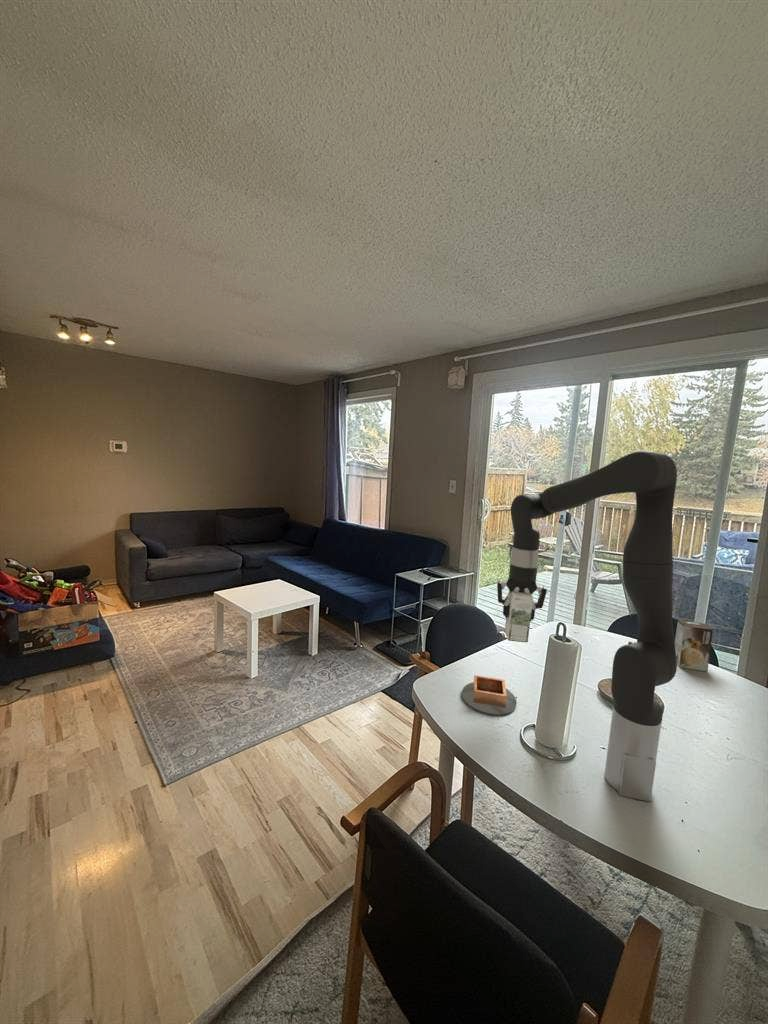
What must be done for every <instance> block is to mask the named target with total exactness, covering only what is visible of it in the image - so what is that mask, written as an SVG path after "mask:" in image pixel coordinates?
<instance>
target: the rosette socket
mask: <svg viewBox="0 0 768 1024" xmlns="http://www.w3.org/2000/svg"><path fill="white" fill-rule="evenodd" d="M505 682H506V681H505V679H501V678H494V677H489V676H481V675H477V674H476V675H473V682H470V683H468V684H465V685H464V687H463V688H462V691H461V698H462V700H463V701H464V703H465V704H466V705H467V706H468V707H469V708H471V709H473V710H474V711H476V712H478V713H480V714H484V715H488V716H497V717H499V716H506V715H507V716H508V715H509V714H511V713H513V712H514V711H515V710H516V708H517V698H516V697H515V695H514V694H513V693H512V692H511V691H510V690H509V689H507V688H506V683H505Z"/></svg>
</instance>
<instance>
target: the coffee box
mask: <svg viewBox="0 0 768 1024" xmlns="http://www.w3.org/2000/svg"><path fill="white" fill-rule="evenodd" d="M713 632H714V629H713V628H711V627H710V626H709V625H707V624H706V623H703V622H702V623H701V622H694V621H688V620H681V619H678V620H677V624H676V631H675V637H674V642H675V650H676V659H677V668H682V669H689V670H695V671H696V670H697V671H702V672H708V669H709V663H710V654H711V647H712V641H713V640H712V639H713Z"/></svg>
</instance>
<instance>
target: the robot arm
mask: <svg viewBox="0 0 768 1024" xmlns="http://www.w3.org/2000/svg"><path fill="white" fill-rule="evenodd" d="M677 469H678V468H677V465H676V463H675V461H674V460H673V459H672V458H671V457H670V455H667V454H665V453H663V452H657V451H652V450H651V451H650V450H635V451H632V452H630V453H628V454H626V455H623V456H621V457H620V458H618V459H615V460H613V461H612V462H610V463H608V464H606V465H604V466H603V467H601V468H599V469H596V470H594V471H592V472H589V473H587V474H584V475H582V476H579V477H575V478H573V479H570V480H567V481H565V482H562V483H558V484H555V485H552V486H550V487H547V488H546V489H544V490H543V492H540V493H536V494H519V495H516V496H515V497H514V499H513V500H512V503H511V504H510V516H511V523H512V530H513V540H512V549H511V554H510V558H509V562H510V563H509V570H508V571H509V572H508V579H507V580H506V581H500V580H498V581H497V582H496V585H497V587H496V589H497V590H496V592H497V602H498V603H499V604H502V605H503V606H502V614H503V615H502V616H504V618H505V619H506V618H508V610H509V603H510V602H511V597H512V593H511V594H510V592H514V593H517V592H521V593H526V594H529V595H531V594H532V595H533V594H534V593H535V592H536V591H537V594H538V598H537V602H534V600H533V602H532V611H531V619H530V622H532V621H533V620H534V619H535V614H536V609H542V608H543V607H544V603H545V600H546V595H547V592H548V590H547V587H545V585H544V586H540V585H538V584H537V583H536V582H537V576H538V575H537V573H538V567H539V549H540V548H539V546H540V538H541V537H540V531H539V529H537V528H535V527H533V524H532V522H533V521H532V520H537V519H538V520H539V519H543V518H547V517H549V516H551V515H553V514H554V515H555V513H561V512H564V511H568V510H572V509H575V508H578V507H581V506H584V505H585V504H587V503H590V502H592V501H593V500H595V499H598V498H602V497H605V496H609V495H615V494H616V495H618V494H626V493H634V494H635V501H636V503H635V505H636V506H635V507H636V508H635V510H636V511H635V517H634V522H633V525H632V527H631V529H630V532H629V534H628V537H627V539H626V542H625V545H624V548H623V554H622V581H623V585H624V588H625V591H626V593H627V595H628V597H629V600H630V601H631V603H632V606H633V607H634V610H635V612H636V617H637V639H636V642H635V643H634V642H633V643H632V644H628V643H627V644H624V645H622V646H620V647H619V648H618V649H617V650H616V652H615V654H614V657H613V662H612V670H611V686H610V687H611V688H610V689H611V695H612V699H613V704H612V705H613V706H612V713H611V721H610V726H609V727H610V728H609V729H610V730H609V737H608V743H607V751H606V761H605V766H604V767H605V768H604V778H605V780H606V782H607V783H608V784H609V785H610V786H611V788H613V789H614V790H615V791H617V793H618V795H619V796H620V797H625V798H631V799H635V800H640V801H646V802H652V801H651V800H652V793H653V785H654V779H655V772H656V767H657V766H656V765H657V755H658V751H659V741H660V736H661V735H660V734H661V730H662V729H661V728H662V722H663V714H664V711H663V708H662V705H661V704H660V703H659V702H658V701H656V700H655V690H656V687H659V686H661V685H664V684H668V683H670V682H671V681H672V680H673V679H674V678H675V676H676V673H677V670H678V669H677V668H678V665H677V659H676V650H675V636H674V628H673V626H674V624H673V585H674V584H673V582H674V581H673V580H674V573H673V572H674V557H673V556H674V555H673V534H674V533H673V513H674V502H675V494H676V487H677V480H678V479H677V478H678V470H677ZM505 587H507V588H508V593H507V595H506V597H505V598H503V590H505ZM509 590H510V592H509Z"/></svg>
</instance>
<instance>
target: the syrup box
mask: <svg viewBox="0 0 768 1024" xmlns="http://www.w3.org/2000/svg"><path fill="white" fill-rule="evenodd" d="M509 592H510V590H509V589H508V593H509ZM511 593H512V597H511V602H510V603H509V610H508V618H505V626H504V627H505V628H504V633H505V636H506V638H507V641H508V642H517V643H528V642H529V636H530V635H529V634H530V628H531V627H530V626H531V621H530V619H531V611H532V602H533V601H534V596H533V594H531V595H529V594H526V593H521V592H517V593H514V592H510V594H511Z"/></svg>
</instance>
